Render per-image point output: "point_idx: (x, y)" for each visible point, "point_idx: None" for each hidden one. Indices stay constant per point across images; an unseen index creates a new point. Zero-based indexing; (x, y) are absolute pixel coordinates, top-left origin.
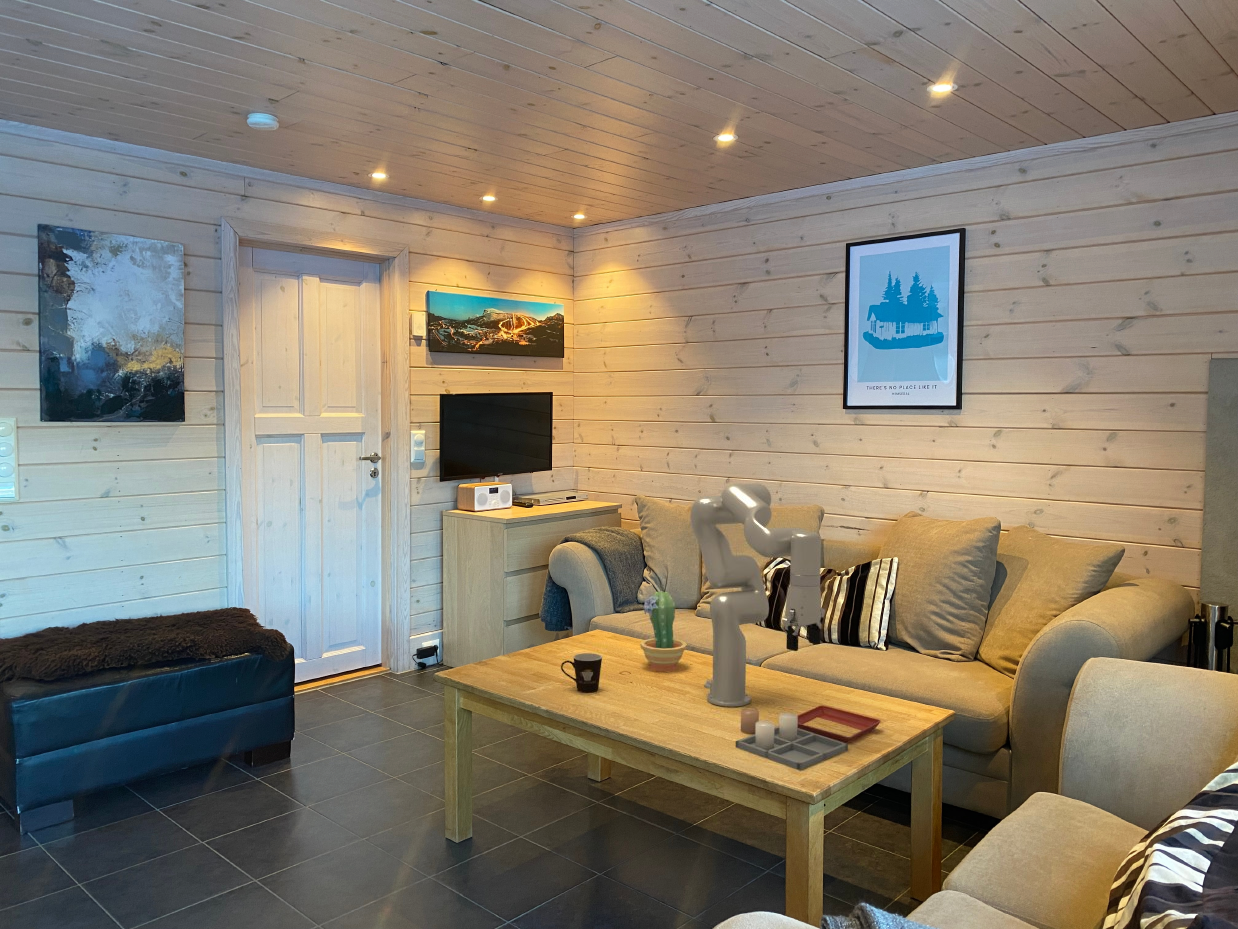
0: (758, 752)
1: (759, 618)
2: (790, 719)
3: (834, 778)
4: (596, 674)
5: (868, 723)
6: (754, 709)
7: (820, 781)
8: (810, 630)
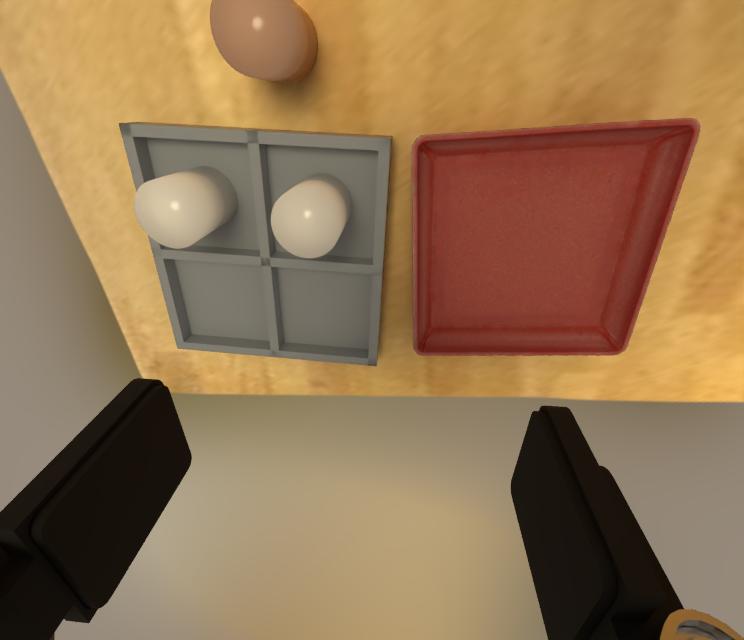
0: None
1: None
2: (285, 248)
3: (235, 390)
4: None
5: (615, 313)
6: (289, 24)
7: (200, 380)
8: (582, 564)
